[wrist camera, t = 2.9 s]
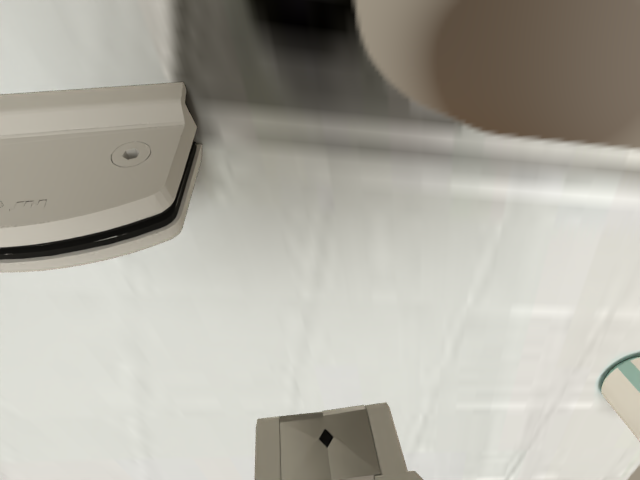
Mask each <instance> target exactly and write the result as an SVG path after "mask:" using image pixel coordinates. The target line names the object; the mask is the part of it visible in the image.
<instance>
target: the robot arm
mask: <svg viewBox="0 0 640 480" xmlns="http://www.w3.org/2000/svg"><path fill="white" fill-rule="evenodd" d="M255 480H423V479H422V478H421V477H420V476H419V475H418V474H417V473H416V472H415V471H408V470H407V467H406V463H405V460H404V456H403V453H402V449H401V446H400V443H399V439H398V436H397V432H396V429H395V425H394V422H393V418H392V415H391V411H390V408H389V406H388V404H387V403H386V402H385V403H378V404H371V405H365V406H364V405H359V406H352V407H345V408H339V409H332V410H325V411H322V412H315V413H306V414H296V415H287V416H277V417H269V418H261V419H257V424H256V446H255Z"/></svg>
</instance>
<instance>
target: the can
mask: <svg viewBox="0 0 640 480" xmlns="http://www.w3.org/2000/svg"><path fill="white" fill-rule="evenodd" d="M601 392H602V395H603V396H604V398H605V399H606V400H607V401H608V403H609V404H610V405H611V406H612V408H613V409H614V410H615V411H616V413H617V414H618V415H619V416H620V418H621V419H622V420H623V421H624V423H625V424H626V425H627V426H628V428H629V429H630V430H631V431H632V433H633V434H634V435H635V436H636V438H637V439H638V440H639V441H640V356H639V357H633V358H630V359H627V360H625V361H623V362H621V363H619V364H618V365H616V366H615V367H614V368H612V369H611V370H610V371H609V373H608V374H607V376H606V377H605V380H604V382H603V384H602V389H601Z"/></svg>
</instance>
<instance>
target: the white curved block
mask: <svg viewBox="0 0 640 480" xmlns="http://www.w3.org/2000/svg"><path fill="white" fill-rule="evenodd" d="M186 91H187V90H186V87H185V85H184V82H177V83H162V84H148V85H133V86H119V87H104V88H90V89H75V90H61V91H46V92H32V93H17V94H2V95H0V272H3V273H4V272H30V271H44V270H52V269H60V268H67V267H73V266H79V265H85V264H90V263H94V262H99V261H104V260H108V259H112V258H116V257H119V256H123V255H127V254H130V253H134V252H137V251H140V250H143V249H146V248H149V247H152V246H155V245H157V244H160V243H163V242H165V241H168V240H171V239H173V238H174V237H176V236H177V235H178V234H179V233H180V232H181V230H182V228H183V225H184V221H185V217H186V214H187V210H188V206H189V203H190V199H191V196H192V192H193V188H194V185H195V181H196V177H197V174H198V170H199V167H200V163H201V158H202V144H196V143H195V142H193V139H194V136H195V133H196V129H197V126H196V124H195V122H194V120H193V118H192V116H191V114H190V112H189V111H188V109H187V107H186V105H185V98H186Z"/></svg>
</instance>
